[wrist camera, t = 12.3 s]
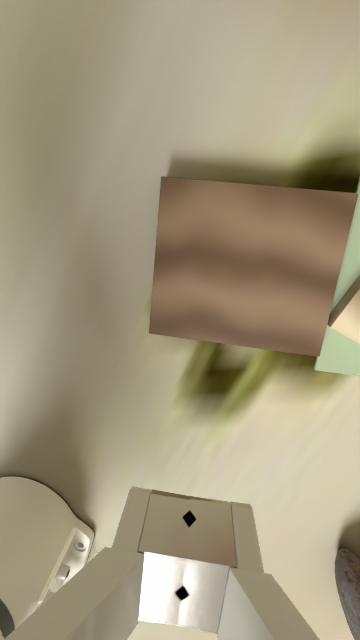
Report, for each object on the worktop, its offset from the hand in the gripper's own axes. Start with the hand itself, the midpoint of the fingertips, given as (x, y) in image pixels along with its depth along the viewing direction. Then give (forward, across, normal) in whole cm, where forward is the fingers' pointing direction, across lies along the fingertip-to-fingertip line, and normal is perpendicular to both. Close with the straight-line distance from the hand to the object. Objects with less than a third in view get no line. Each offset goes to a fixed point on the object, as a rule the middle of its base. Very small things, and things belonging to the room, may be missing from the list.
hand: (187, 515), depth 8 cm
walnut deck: (+23, -3, -5) cm, 24 cm away
